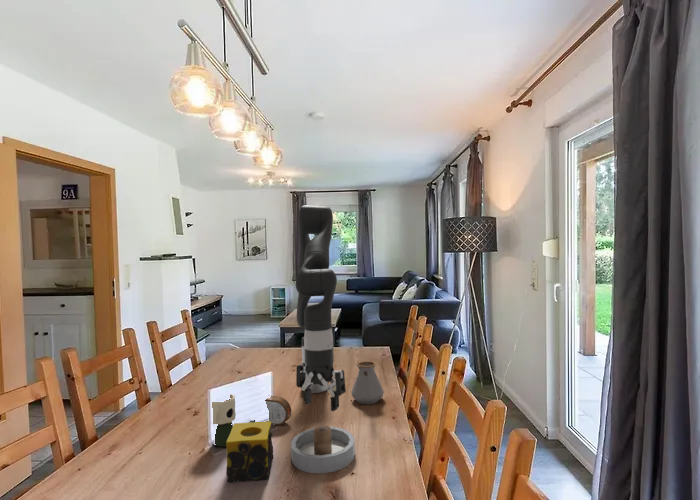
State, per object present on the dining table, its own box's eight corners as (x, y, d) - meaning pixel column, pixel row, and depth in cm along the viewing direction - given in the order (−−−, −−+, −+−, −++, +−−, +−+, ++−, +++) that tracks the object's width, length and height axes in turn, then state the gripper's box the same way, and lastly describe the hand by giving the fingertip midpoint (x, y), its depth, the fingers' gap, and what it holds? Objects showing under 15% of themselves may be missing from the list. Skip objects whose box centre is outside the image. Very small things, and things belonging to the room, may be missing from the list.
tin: (292, 423, 125) (291, 396, 125) (287, 427, 122) (286, 400, 122) (250, 418, 130) (249, 392, 129) (245, 422, 127) (244, 396, 126)
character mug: (229, 453, 108) (227, 405, 108) (203, 453, 108) (201, 405, 108) (242, 434, 119) (240, 390, 118) (218, 434, 119) (217, 391, 119)
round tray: (278, 462, 102) (277, 447, 102) (316, 435, 116) (316, 422, 116) (331, 480, 94) (330, 464, 93) (365, 448, 107) (365, 434, 107)
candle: (234, 460, 104) (233, 422, 104) (273, 457, 105) (272, 419, 105) (225, 484, 94) (223, 442, 94) (269, 480, 95) (267, 438, 94)
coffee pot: (352, 394, 147) (351, 353, 147) (383, 393, 146) (382, 353, 146) (348, 419, 126) (346, 372, 126) (385, 419, 125) (383, 371, 125)
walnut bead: (310, 454, 104) (309, 431, 104) (321, 446, 108) (320, 424, 108) (325, 458, 102) (324, 434, 102) (335, 450, 106) (334, 427, 106)
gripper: (288, 345, 105) (290, 406, 105) (333, 352, 97) (335, 418, 98) (306, 339, 111) (308, 397, 112) (349, 345, 104) (351, 406, 104)
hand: (321, 406), depth 105 cm, fingers open, 8 cm apart
